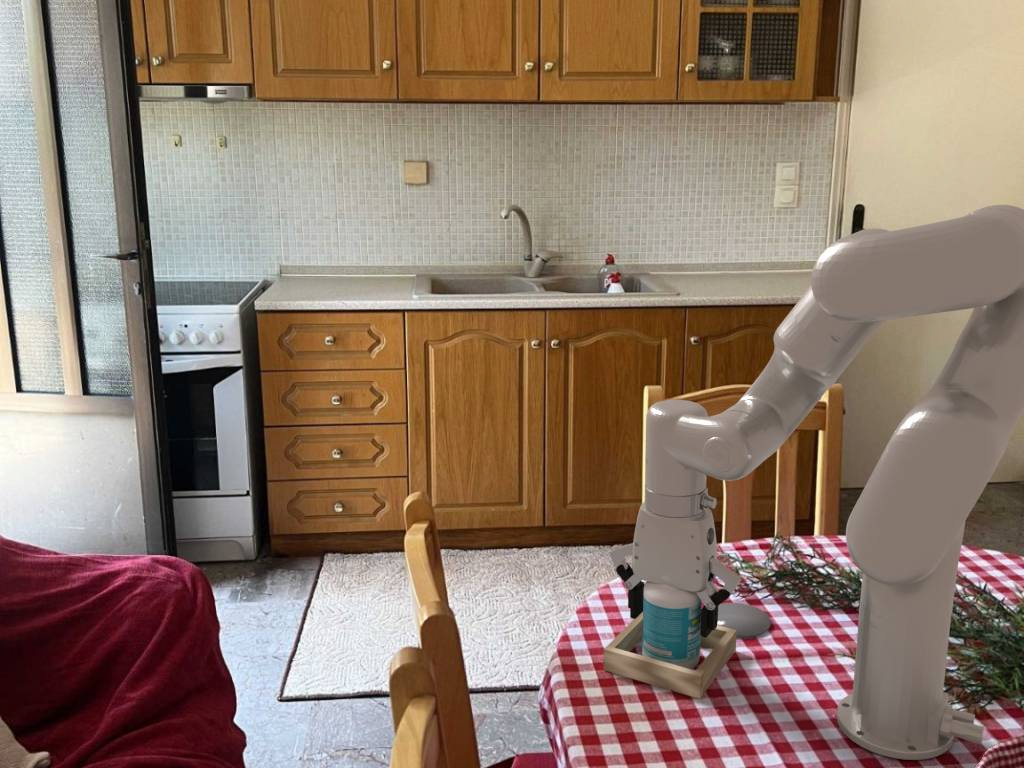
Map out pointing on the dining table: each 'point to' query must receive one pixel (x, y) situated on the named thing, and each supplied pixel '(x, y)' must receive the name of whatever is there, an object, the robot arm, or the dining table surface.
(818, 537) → the dining table surface
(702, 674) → the wooden frame
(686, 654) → the pill bottle
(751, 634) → the stone
